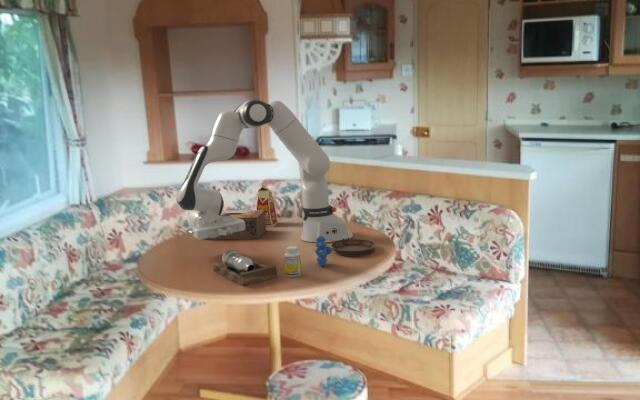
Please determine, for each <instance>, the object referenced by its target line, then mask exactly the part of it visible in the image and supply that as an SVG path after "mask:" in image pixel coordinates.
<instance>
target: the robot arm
mask: <svg viewBox="0 0 640 400" xmlns="http://www.w3.org/2000/svg"><path fill="white" fill-rule="evenodd" d="M264 125H267V126H268V127H269V128H271V130H272V131H273V133H274V135H275V136H276V137H278V139H279V140H280V142H281V143H282V144H283V146H285V148H286V149H287V150H288V151H289V153H290V154H291V155H292V156H293V157H294V158H295V160H296V161H297V162H298V167H299V178H300V182H301V183H300V184H301V190H302V192H301V193H302V207H301V208H302V209H301V215H302V217H301V218H302V220H303V221H302V223H303V224H302V231H301V237H300V239H301V240H302V241H304V242H308V243H309V242H311V243H317V241H316V239H317V238H318V236H323V237H324V238H325V239H326V240H325V243H326V244H327V243H332V242H333V243H334V242H337V241H341V240H343V239H344V240H348V238H349V239H353V238H354V234H353V232H352V231H351V230H349V229H348V225H347V223H346V222H345V220H344V219H342V218H341V217H339V216H338V215H336V214H335V213H336V212H337V210H338V208H337V207H335V206H332V205H330V202H329V186H328V181H327V176H326V174H327V173H328V172H329V170H330V167H331V160H330V158H329V156H328V154H327V153H326V152H325V151H324V149H323V147H321V146H320V145H319V144H318V142H317V141H316V140H315V139H314V138H313V137H312V135H311V134H310V133H309V132H308V131H307V129H306V128H305V127H304V124H302V123H301V122H300V120H299V119H298V118H297V116H296V115H295V114H294V112H292V110H291V109H290V108H289V107H288V106H287V105H286V104H284V103H283V102H282V101H280V100H274V101H271V102H270V103H267V102H264V101H263V100H260V99H250V100H247V101H244V102H243V103H241V104H240V105H238V106H237V108H236V109H235V110H234V111H230V110H225V111H222V112H220V113H219V115H218V116H217V119H216V120H215V123H214V126H213V128H212V131H211V136H210V138H209V140H208V142H207V143H206V144H205V145H203V146H201V147H200V148H199V149H198V151H197V153H196V155H195V157H194V158H193V161H192V163H191V165H190V167H189V170H188V172H187V174H186V177H185V179H184V180H183V182H182V184H181V186H180V188H179V190H178V192H177V195H176V202H177V204H178V205H179V208H181V209H182V210H184V211H191V212H190V213H188V215H187V224H188V225H189V227H190V230H189V231H188V232H189V233H190V235H191V234H192V235H193V237H194V238H195V239H197V240H206V239H205V238H216V237H218V236H220V235H230V234H232V233H234V232H239V231H244V230H245V221H244V220H242V219H239V218H235V217H233V216H232V215H221V213H222V210H224V205H225V204H224V202H225V201H224V198H223V196H222V194H221V193H220V191H217V190H214V189H209V188H205V187H202V186H201V187H200V186H198V183H199V180H200V178H201V177H202V174H203V172H204V169H205V167H206V166H208V165H209V164H210V163H214V162H222V161H227V160H228V159H230V158H232V157H233V156H234V155H235V153H236V151H237V149H238V145H239V141H240V136H241V134H242V132H243V130H244V129H255V128H258V127H262V126H264ZM352 237H353V238H352Z"/></svg>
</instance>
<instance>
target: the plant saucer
mask: <svg viewBox="0 0 640 400" xmlns="http://www.w3.org/2000/svg"><path fill="white" fill-rule="evenodd" d="M376 245H377V244H376V243H375V242H374V241H372V240H368V239H361V238H355V239H354V238H349V239H344V240H338V241H333V243H331V245H330V247H331V248H332V249H333V251H334V252H335V253H336V254H338V255H340V256H345V257H360V256H366V255H368V254H370V253H371V252H372V251H373V250H374V249H375V247H376Z"/></svg>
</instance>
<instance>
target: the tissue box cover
mask: <svg viewBox="0 0 640 400" xmlns="http://www.w3.org/2000/svg"><path fill="white" fill-rule="evenodd" d="M221 215H232V216H233V217H235V218H239V219H242V220H244V221H245V230H244V231H239V232H234V233H232V234H230V235H220V236H218V237H216V238H205V239H204V240H259V239H260V238H261V236H262V235H263V234H264V233H265V232H266V231H267V230H266V228H267V227H265V212H264V210H257V209H243V210H242V209H238V210H235V209H231V210H229V209H228V210H225V209H223V210H222V213H221Z"/></svg>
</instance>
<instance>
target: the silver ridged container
mask: <svg viewBox="0 0 640 400" xmlns="http://www.w3.org/2000/svg"><path fill="white" fill-rule="evenodd" d="M252 260H253V259H251V258H250V257H247V256H242V255H241V254H239V253H238V251H235V250H233V249H230V250H226V251H225V252H224V253H223V254H222V257H221V262H222V264H223V265H224V266H225V268H227V267H228V268H233V269H235V270H236V271H237V272H238V273H239V274H241V273H245V272H249V271H253V270H256V266H255V265H254V264H253V262H252Z"/></svg>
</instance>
